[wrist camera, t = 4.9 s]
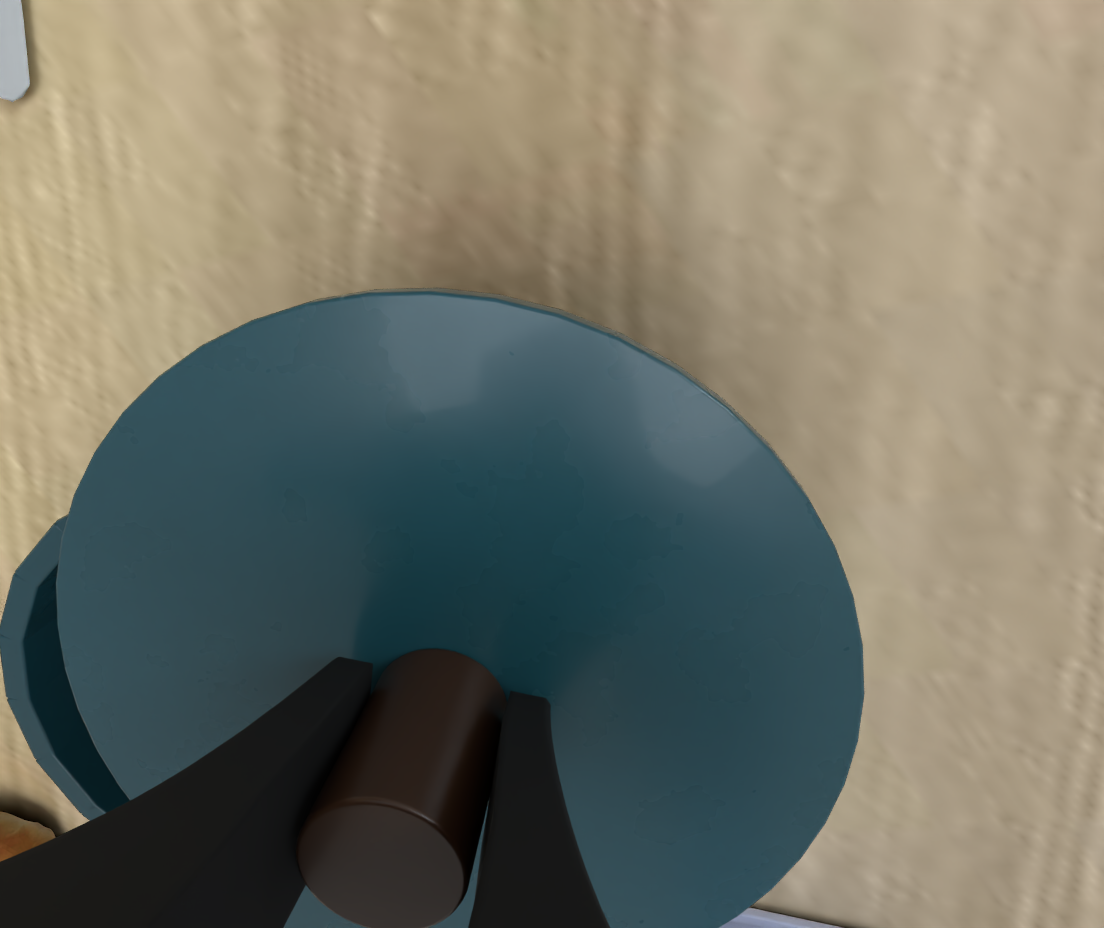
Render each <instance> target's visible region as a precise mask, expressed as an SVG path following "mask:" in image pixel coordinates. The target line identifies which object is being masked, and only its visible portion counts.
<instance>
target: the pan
mask: <svg viewBox="0 0 1104 928" xmlns="http://www.w3.org/2000/svg"><path fill="white" fill-rule="evenodd" d="M67 518H68V514H67V515H66V516H64V517H62V518H60V519H59V520H57V521H56V522H55V523H54V524H53V525H52V526H51V528H50V529H49V530H48V531H47V532H46V534H45V535H44V536H43V537H42V539H41V540H40V541H39V542H38V544H37V545H36V546H35V547H34V548H33V550H32V551H31V552H30V553H29V555H28V556H27V557H26V558H25V559H24V561H23V562H22V563H21V564H20V566H19V567H18V568H17V569H16V571H15V573H14V575H13V577H12V581H11V585H10V589H9V593H8V597H7V600H6V604H5V608H4V612H3V616H2V620H1V624H0V654H1V662H2V669H3V677H4V684H5V692H6V697H7V698H8V699H7V701H8V703H9V705H10V708H11V710H12V712H13V714H14V716H15V718H16V720H17V722H18V724H19V726H20V728H21V731H22V733H23V735H24V737H25V739H26V741H27V743H28V745H29V747H30V749H31V751H32V754H33V756H34V758H35V759H37V760H36V762H37V763H38V764H39V765H40V766H41V768H42V769H43V770H44V771H45V772H46V773H47V775H48V776H49V777H50V778H51V779H52V780H53V782H54V783H55V784H56V785H57V786H58V787H59V789H60V790H61V791H62V792H63V793H64V794H65V796H66V797H67V798H68V799H69V800H70V802H71V803H72V804H73V805H74V806H75V807H76V809H77V810H78V811H79V812H80V813H82V815H83V816H84V817H86V818H87V819H88V820H90V821H91V820H93V819H95V818H97V817H99V816H101V815H103V814H105V813H107V812H109V811H111V810H113V809H115V808H117V807H119V806H121V805H123V804H125V803H127V802H128V801H130V799H129V798H128V797H127V795H126V794H125V793H124V792H123V790H122V789H121V788H120V786H119V785H118V783H117V782H116V780H115V778H114V777H113V775H112V773H111V772H110V770H109V769H108V767H107V765H106V764H105V762H104V760H103V759H102V757H101V756H100V754H99V752H98V751H97V749H96V747H95V745H94V743H93V740H92V738H91V736H90V734H89V732H88V730H87V728H86V725H85V723H84V721H83V719H82V717H81V715H80V713H79V710H78V707H77V704H76V701H75V698H74V695H73V692H72V689H71V686H70V682H69V679H68V676H67V673H66V670H65V665H64V660H63V654H62V648H61V643H60V637H59V631H58V625H57V592H56V580H57V572H58V563H59V555H60V547H61V539H62V535H63V532H64V528H65V525H66V521H67Z"/></svg>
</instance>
